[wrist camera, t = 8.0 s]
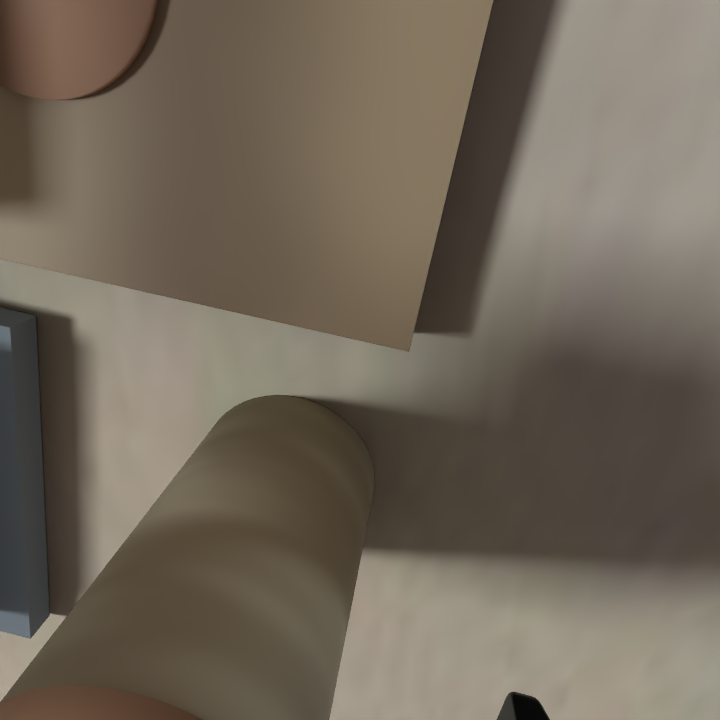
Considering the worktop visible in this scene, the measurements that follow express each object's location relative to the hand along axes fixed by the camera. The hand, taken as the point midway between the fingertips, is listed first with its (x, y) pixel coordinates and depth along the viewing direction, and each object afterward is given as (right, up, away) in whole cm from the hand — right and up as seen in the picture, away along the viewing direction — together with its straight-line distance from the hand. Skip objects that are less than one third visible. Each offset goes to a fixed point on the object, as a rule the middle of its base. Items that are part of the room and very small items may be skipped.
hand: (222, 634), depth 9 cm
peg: (+1, +2, +4) cm, 5 cm away
